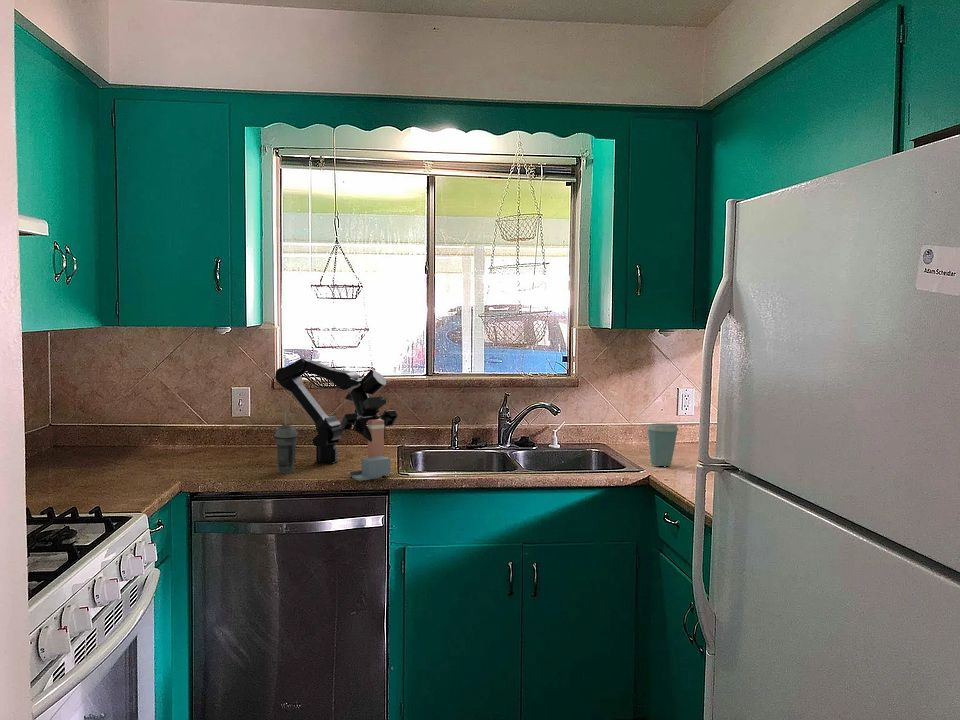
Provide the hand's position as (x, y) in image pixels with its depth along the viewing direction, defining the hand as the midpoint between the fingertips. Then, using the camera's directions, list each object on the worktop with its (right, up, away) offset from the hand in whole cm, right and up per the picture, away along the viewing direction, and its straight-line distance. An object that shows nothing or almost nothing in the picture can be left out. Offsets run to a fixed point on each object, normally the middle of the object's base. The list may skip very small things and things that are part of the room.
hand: (377, 440), depth 253 cm
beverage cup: (-30, -11, 0) cm, 32 cm away
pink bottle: (-1, -7, +2) cm, 7 cm away
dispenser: (-2, -11, -7) cm, 13 cm away
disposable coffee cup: (+96, -11, +18) cm, 99 cm away
